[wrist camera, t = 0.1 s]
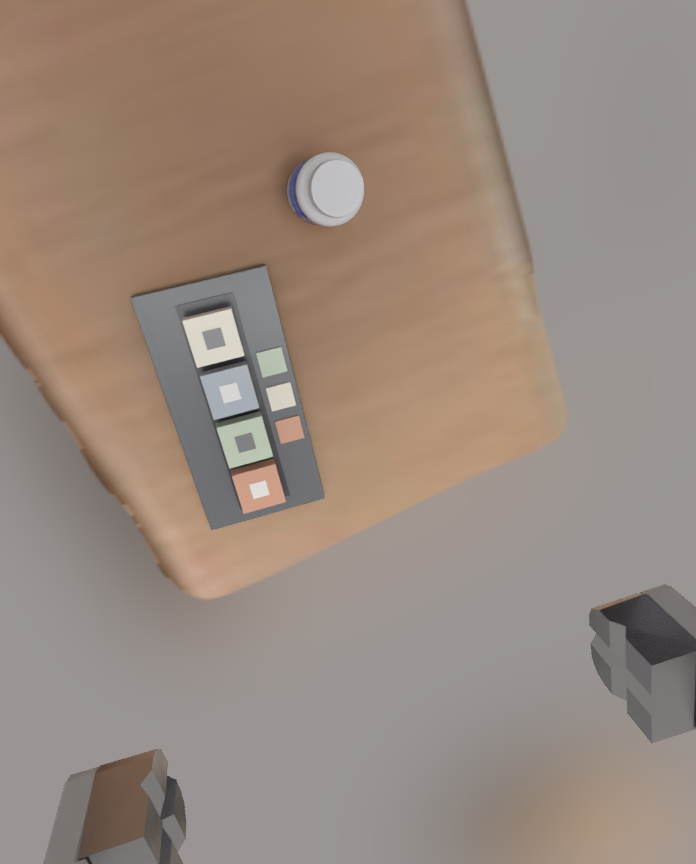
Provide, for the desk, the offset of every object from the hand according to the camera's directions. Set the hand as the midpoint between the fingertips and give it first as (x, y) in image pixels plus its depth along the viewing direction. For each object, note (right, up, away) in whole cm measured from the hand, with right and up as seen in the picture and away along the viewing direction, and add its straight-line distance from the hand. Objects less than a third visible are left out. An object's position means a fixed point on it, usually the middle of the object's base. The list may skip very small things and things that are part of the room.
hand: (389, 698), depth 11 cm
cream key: (-12, +13, +41) cm, 45 cm away
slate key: (-11, +9, +43) cm, 46 cm away
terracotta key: (-9, 0, +47) cm, 48 cm away
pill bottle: (-4, +26, +42) cm, 49 cm away
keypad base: (-12, +8, +47) cm, 49 cm away
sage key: (-10, +4, +45) cm, 47 cm away
